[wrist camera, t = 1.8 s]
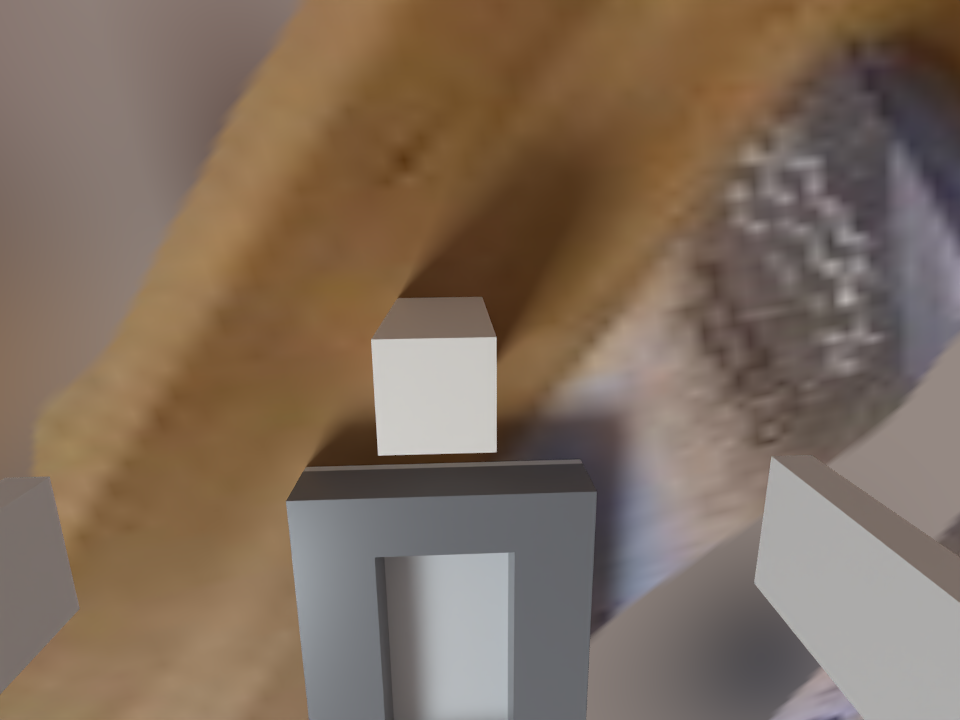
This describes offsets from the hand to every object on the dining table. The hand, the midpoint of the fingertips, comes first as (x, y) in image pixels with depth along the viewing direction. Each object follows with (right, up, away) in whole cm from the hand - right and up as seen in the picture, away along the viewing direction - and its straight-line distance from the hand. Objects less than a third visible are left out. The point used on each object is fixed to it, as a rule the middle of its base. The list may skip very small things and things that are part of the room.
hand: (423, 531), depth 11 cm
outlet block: (-1, -12, +21) cm, 24 cm away
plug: (-1, +4, +17) cm, 17 cm away
